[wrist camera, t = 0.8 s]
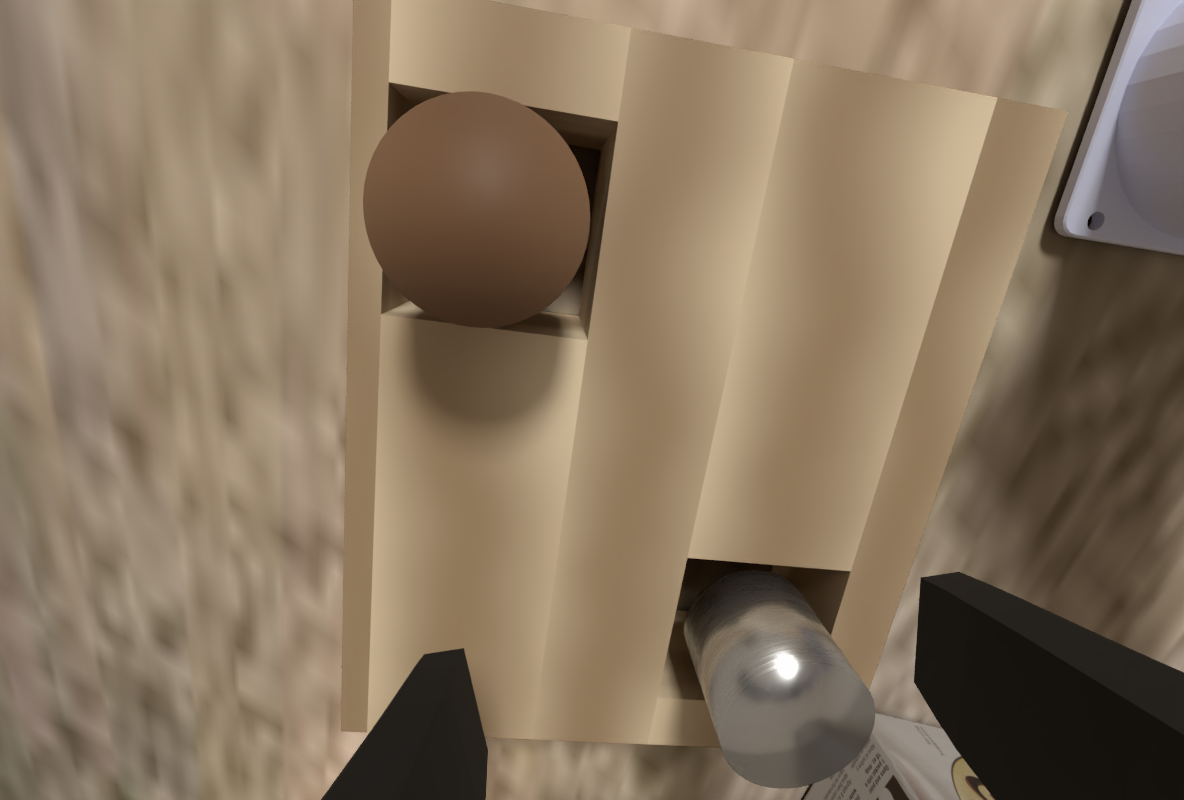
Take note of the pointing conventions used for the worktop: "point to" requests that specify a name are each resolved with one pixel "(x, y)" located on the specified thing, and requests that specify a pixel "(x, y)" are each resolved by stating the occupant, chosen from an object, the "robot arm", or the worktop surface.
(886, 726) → the coffee box
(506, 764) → the worktop surface
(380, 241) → the walnut peg
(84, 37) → the worktop surface
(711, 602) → the steel peg
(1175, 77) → the robot arm
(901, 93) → the maple board
